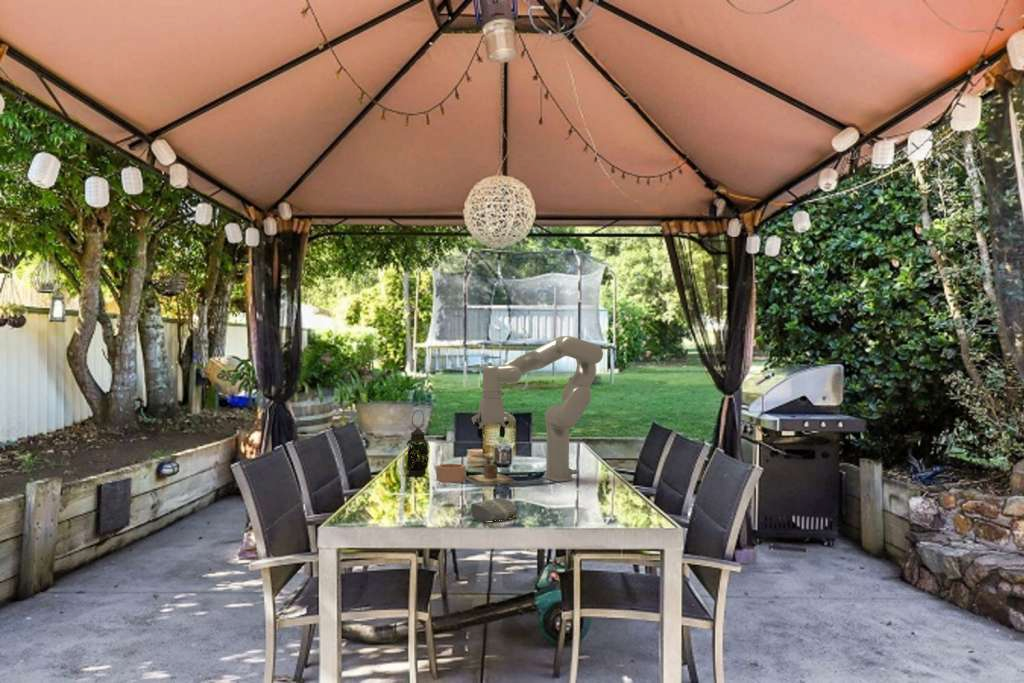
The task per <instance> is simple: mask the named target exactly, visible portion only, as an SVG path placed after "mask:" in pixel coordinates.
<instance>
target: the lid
mask: <svg viewBox="0 0 1024 683" xmlns="http://www.w3.org/2000/svg"><path fill="white" fill-rule="evenodd" d="M483 468H484V469H483V471H484V472H483V473H484V474H475V475H468V476H467V477H468V478H469V479H471V480H474V481H476V482H478V483H480V484H488V483H502V482H513V480H514V479H513V478H511V477H509V476H506V475H504V474H501V473H498V465H497V464H492V463H491V464H484V465H483Z"/></svg>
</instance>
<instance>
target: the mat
mask: <svg viewBox="0 0 1024 683" xmlns="http://www.w3.org/2000/svg"><path fill="white" fill-rule="evenodd" d="M466 480H467V481H468V482H470V483H473V484H475V485H477V486H485V485H487V486H488V485H500V484H501V485H503V484H516V483H519V481H518V480H515V479H513V482H502V483H488V484H480V483H478V482H476V481H474V480H471V479H469V478H468V476H466ZM466 480H465V481H466Z"/></svg>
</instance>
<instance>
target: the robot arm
mask: <svg viewBox="0 0 1024 683" xmlns="http://www.w3.org/2000/svg"><path fill="white" fill-rule="evenodd" d="M565 357H568V358H572V359H575V361H576V370H575V372H574V374H573V375H572V377H571V378H570V380H569V381H568V382H567V383H566V386H564V388H563V390H562V392H561V400H562V402H563V403H562V404H559V403H555V404H552V405H550V406H549V407H548V408H547V410H546V411H545V416H544V417H545V419H544V420H545V427H546V451H545V452H546V456H545V457H546V458H545V459H546V464H545V473H546V474H543V475H542V479H543V480H546V481H549V482H553V483H554V482H555V483H556V482H557V483H560V482H562V483H563V482H570V481H572V480H573V476H572V475H579V474H580V470H579V469H574V468H573V469H572V468H570V431H569V429H572V428H573V427H574V426H576V424H577V423H578V421H579V420H580V419H581V417H582V416H583V414H584V413H585V411H586V410H587V409H588V407H589V405H590V403H591V401H592V392H591V390H590V388H591V386H592V384H593V382H594V381H595V378H596V374H597V367H596V366H597V365H596V364H598V363H600V362H601V361H602V359H603V357H604V351H603V349H602V347H601V346H600V345H599V344H597V343H593V342H590V341H587V340H583V339H580V338H578V337H574V336H571V335H563V336H562V335H561V336H558V337H556V338H554V339H552V340H550V341H548V342H547V343H544V344H542V345H541V346H539V347H537V348H534V349H533V350H530V351H528V352H526V353H524V354H522V355H520V356H518V357H515V358H513V359H511V360H509V361H508V362H506V363H503V364H502V365H500V366H499V365H485V366H483V369H482V398H480V401H479V406H478V411H477V412H478V413H477V414H475V415H473V416H472V417H471V418H470V419H471V422H472V423H473V425H474V426H475V428H477V431H476V435H477V437H478V438H479V439H483V435H484V433H483V432H484V430H483V426H484V425H486V424H499V426H500V427H499V437H500V438H505V435H506V428H507V426H508V425H509V423H510V420H512V416H511V415H509V414H506V412H505V409H504V402H503V401H504V400H503V399H502V397H504V395H505V393H504V392H502V383H503V384H509V385H512V384H517V383H518V382H519V381H520V380H521V378H522V375H525V373H529V372H532V371H536V370H541V369H544V368H546V367H547V366H549V365H551V364H553V363H554V362H557V361H558V360H560V359H562V358H565ZM477 421H478V422H477Z"/></svg>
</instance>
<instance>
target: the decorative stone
mask: <svg viewBox="0 0 1024 683" xmlns="http://www.w3.org/2000/svg"><path fill="white" fill-rule="evenodd" d="M470 507H471V508H470V512H471V516H472V518H473V519H474V521H477V520H482V521H481V522H483V521H495V520H496V521H499V520H500V522H502V521H501V520H503V521H508V520H507V519H509V518H512V517H513V516H515V517H516V516H517V513H518V509H517V507H516V505H515V504H514V503H513V502H512V501H511V500H509V499H506V498H504V497H496V498H493V499H487V500H484V501H480V502H479V501H477V502H474V503H471V506H470ZM512 519H513V518H512ZM509 520H510V519H509Z"/></svg>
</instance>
